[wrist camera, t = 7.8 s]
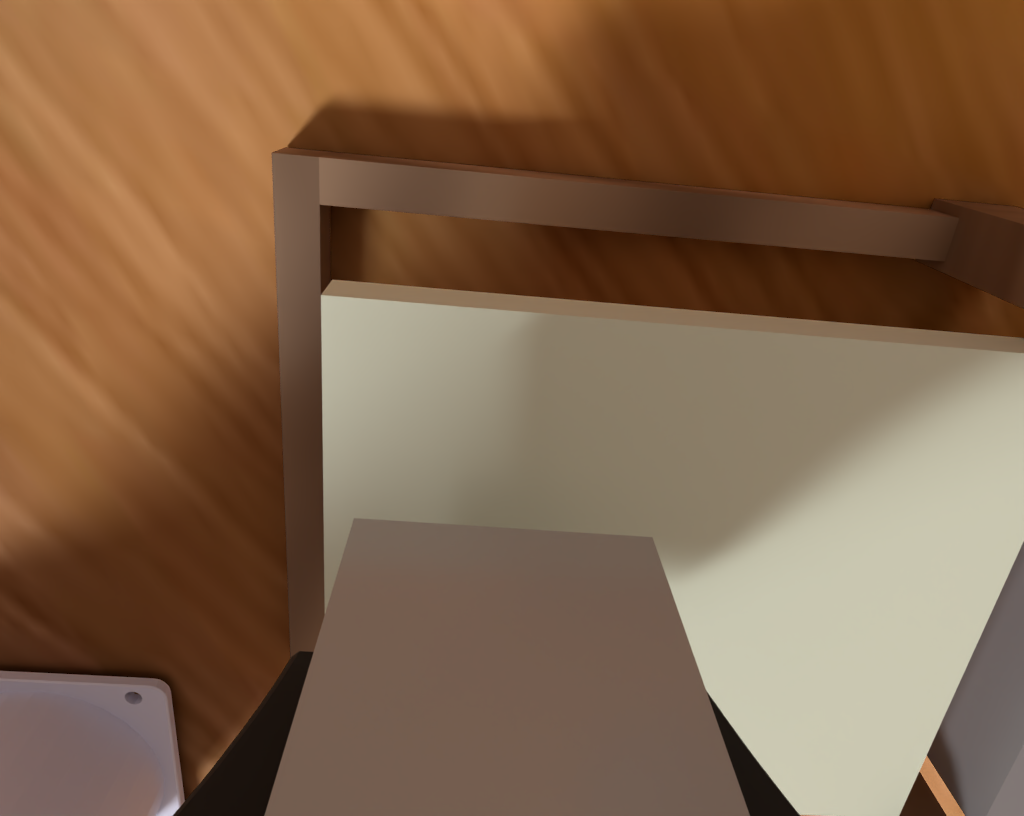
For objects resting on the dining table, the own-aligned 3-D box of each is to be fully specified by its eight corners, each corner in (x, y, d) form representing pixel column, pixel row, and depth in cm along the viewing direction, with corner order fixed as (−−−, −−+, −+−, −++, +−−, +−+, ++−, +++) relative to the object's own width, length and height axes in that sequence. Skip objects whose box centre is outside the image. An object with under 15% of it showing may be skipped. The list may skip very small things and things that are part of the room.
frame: (300, 664, 23) (227, 896, 17) (285, 135, 17) (156, 177, 10) (1012, 700, 25) (1199, 925, 18) (1247, 228, 18) (1666, 316, 12)
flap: (340, 735, 19) (320, 823, 17) (340, 269, 14) (312, 307, 12) (1093, 769, 20) (1167, 855, 18) (1338, 355, 15) (1481, 403, 13)
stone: (352, 737, 13) (270, 1138, 8) (353, 518, 11) (249, 866, 6) (608, 749, 13) (678, 1142, 9) (652, 536, 12) (773, 882, 7)
